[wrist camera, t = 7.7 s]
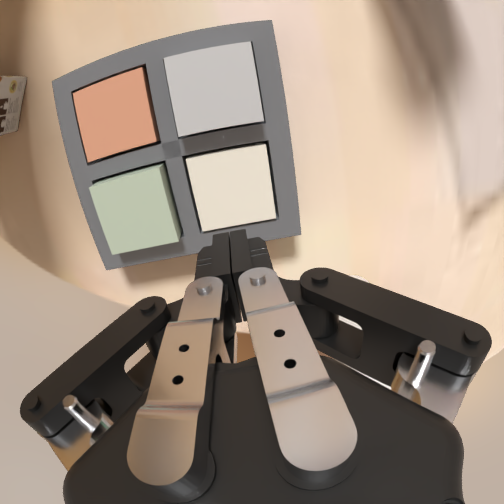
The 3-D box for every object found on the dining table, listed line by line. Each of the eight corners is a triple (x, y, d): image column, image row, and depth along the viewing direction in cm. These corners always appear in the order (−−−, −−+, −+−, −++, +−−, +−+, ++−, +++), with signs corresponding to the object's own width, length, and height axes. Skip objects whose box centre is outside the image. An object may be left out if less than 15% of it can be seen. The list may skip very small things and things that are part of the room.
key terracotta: (84, 93, 20) (72, 93, 18) (149, 70, 20) (141, 67, 18) (98, 157, 23) (87, 162, 21) (162, 138, 23) (156, 141, 21)
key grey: (169, 62, 19) (163, 58, 17) (248, 47, 19) (250, 41, 17) (182, 134, 22) (178, 136, 20) (260, 119, 22) (264, 121, 20)
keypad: (69, 82, 20) (51, 81, 17) (265, 30, 20) (271, 20, 17) (116, 253, 29) (106, 270, 26) (293, 220, 29) (301, 234, 26)
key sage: (99, 180, 23) (88, 187, 21) (164, 162, 23) (159, 167, 21) (120, 242, 26) (112, 255, 24) (182, 229, 26) (178, 241, 24)
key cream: (189, 154, 24) (185, 159, 22) (262, 141, 24) (265, 144, 22) (204, 221, 27) (202, 231, 25) (272, 208, 27) (276, 218, 25)
